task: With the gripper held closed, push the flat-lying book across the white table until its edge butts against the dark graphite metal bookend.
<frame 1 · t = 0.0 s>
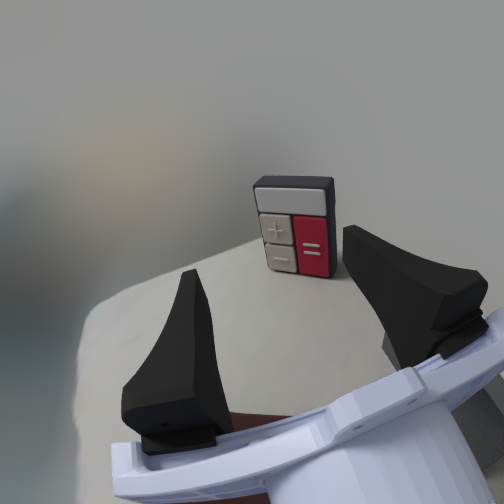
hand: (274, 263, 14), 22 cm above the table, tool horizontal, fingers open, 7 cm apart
book: (262, 476, 23), on the table
bookend: (429, 407, 24), on the table
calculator: (302, 269, 49), on the table
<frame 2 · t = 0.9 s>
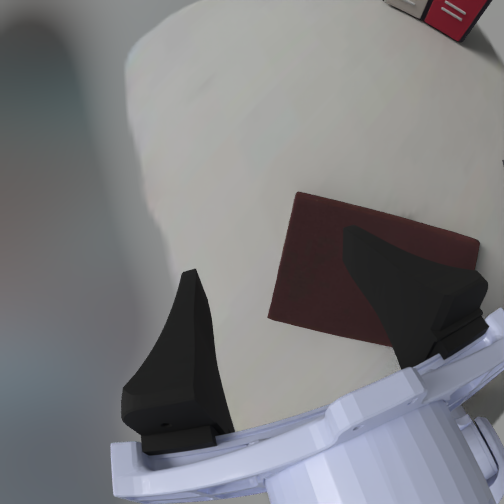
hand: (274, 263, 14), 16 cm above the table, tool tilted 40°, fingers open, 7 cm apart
book: (376, 275, 29), on the table
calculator: (424, 15, 23), on the table
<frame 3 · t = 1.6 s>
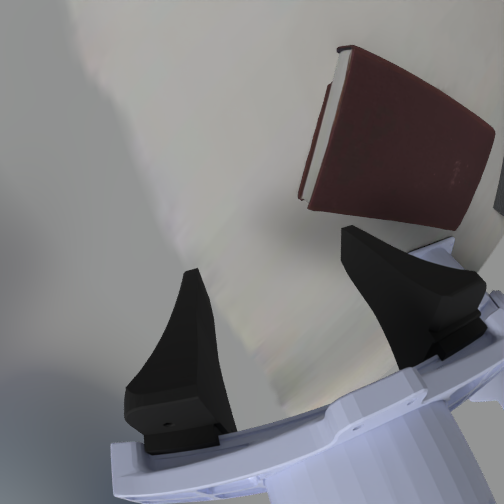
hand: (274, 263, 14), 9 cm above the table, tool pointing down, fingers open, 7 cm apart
book: (404, 147, 23), on the table
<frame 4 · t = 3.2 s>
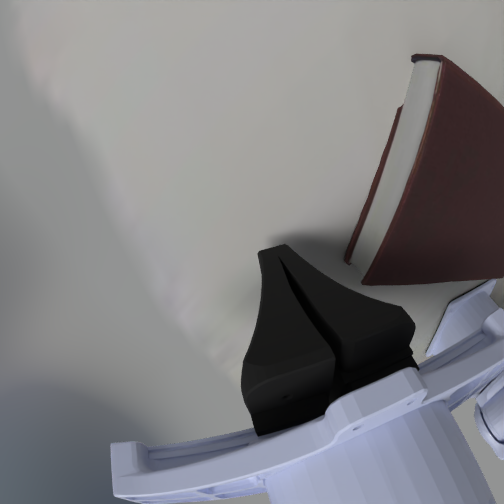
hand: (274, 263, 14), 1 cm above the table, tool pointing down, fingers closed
book: (466, 187, 17), on the table
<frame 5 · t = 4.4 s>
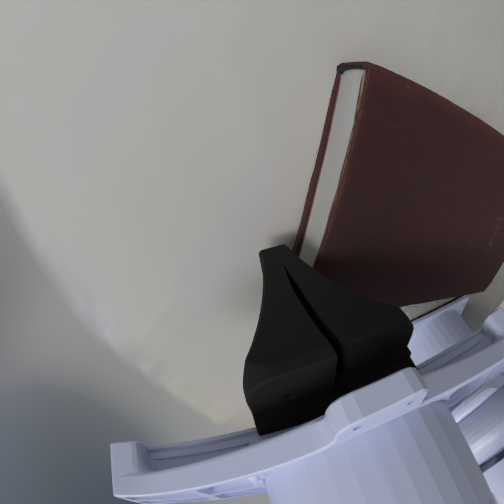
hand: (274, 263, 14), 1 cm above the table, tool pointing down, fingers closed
book: (432, 201, 17), on the table, touching gripper
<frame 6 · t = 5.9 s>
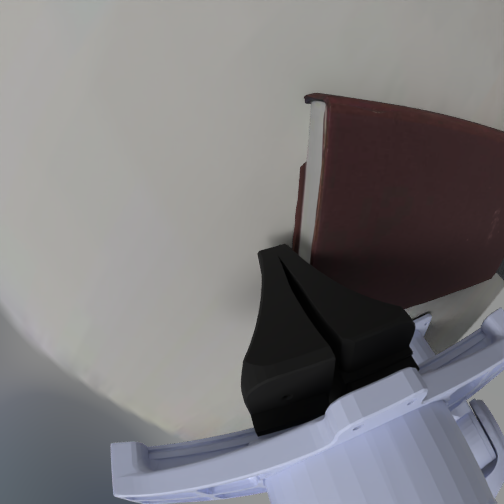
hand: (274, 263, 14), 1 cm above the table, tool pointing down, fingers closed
book: (426, 202, 17), on the table
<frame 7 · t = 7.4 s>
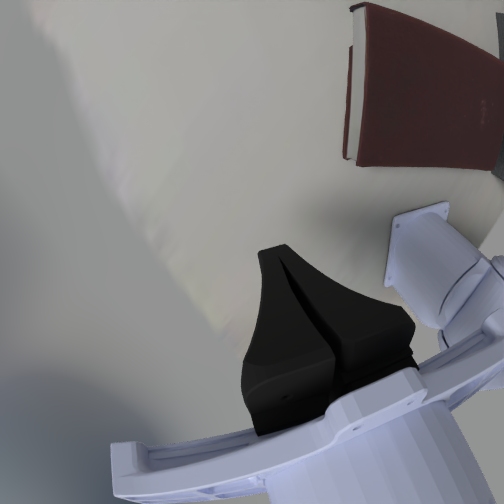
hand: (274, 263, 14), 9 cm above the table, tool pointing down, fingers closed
book: (431, 95, 21), on the table
bookend: (503, 94, 21), on the table
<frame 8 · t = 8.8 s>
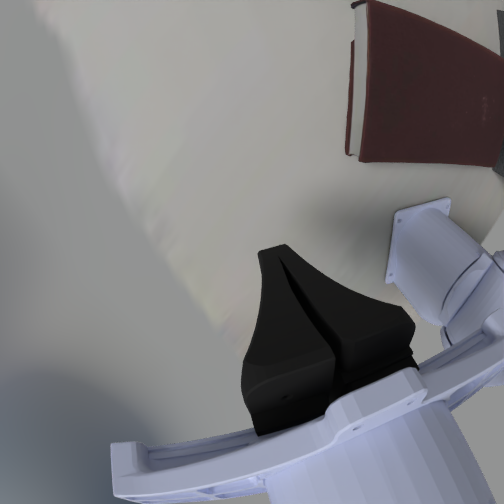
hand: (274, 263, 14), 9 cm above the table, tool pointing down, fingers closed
book: (432, 91, 20), on the table
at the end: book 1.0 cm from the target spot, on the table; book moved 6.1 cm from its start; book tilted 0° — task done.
